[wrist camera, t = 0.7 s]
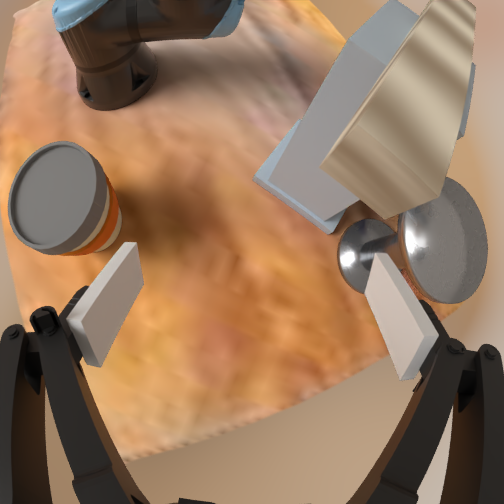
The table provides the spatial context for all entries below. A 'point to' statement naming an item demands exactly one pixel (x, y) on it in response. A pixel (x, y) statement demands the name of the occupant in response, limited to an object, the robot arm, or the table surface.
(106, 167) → the table surface
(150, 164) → the table surface
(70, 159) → the reusable coffee cup
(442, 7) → the beech bar
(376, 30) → the stand
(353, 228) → the metal pedestal stand
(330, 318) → the table surface
